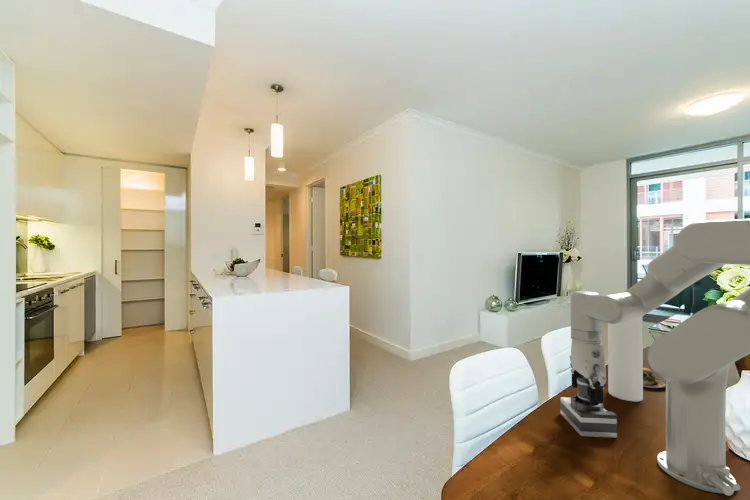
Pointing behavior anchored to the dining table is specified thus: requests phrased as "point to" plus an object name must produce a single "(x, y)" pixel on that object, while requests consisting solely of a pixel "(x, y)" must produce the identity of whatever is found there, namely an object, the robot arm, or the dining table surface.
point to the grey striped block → (589, 418)
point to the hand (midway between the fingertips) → (586, 394)
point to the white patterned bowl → (651, 380)
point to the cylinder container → (626, 360)
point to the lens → (584, 390)
